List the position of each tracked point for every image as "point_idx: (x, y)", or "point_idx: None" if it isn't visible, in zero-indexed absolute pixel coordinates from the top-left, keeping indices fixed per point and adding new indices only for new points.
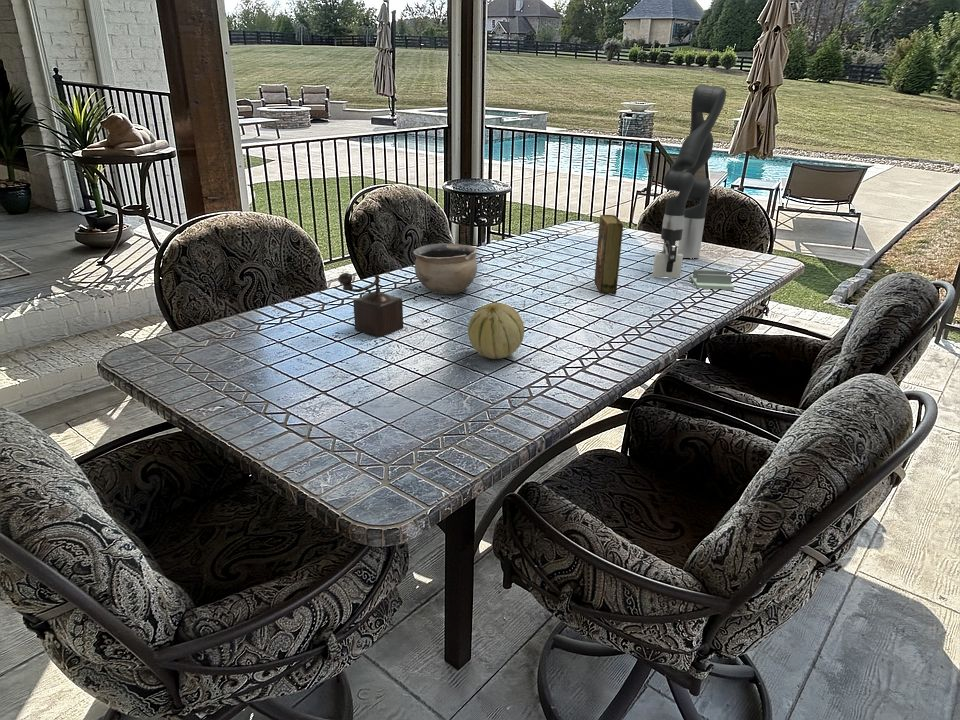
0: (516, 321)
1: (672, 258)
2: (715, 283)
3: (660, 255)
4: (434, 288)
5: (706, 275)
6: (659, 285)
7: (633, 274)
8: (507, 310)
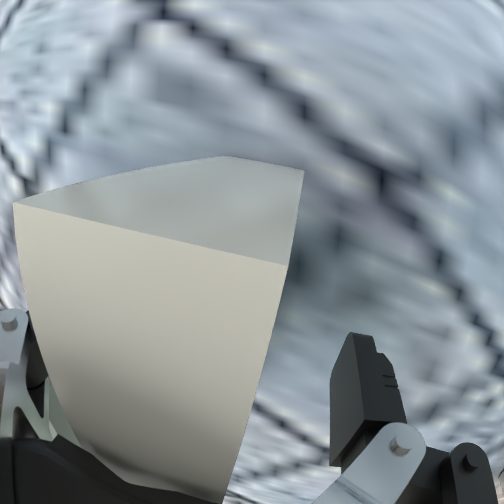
0: None
1: (42, 405)
2: None
3: (43, 312)
4: None
5: None
6: (36, 152)
7: (344, 3)
8: None
